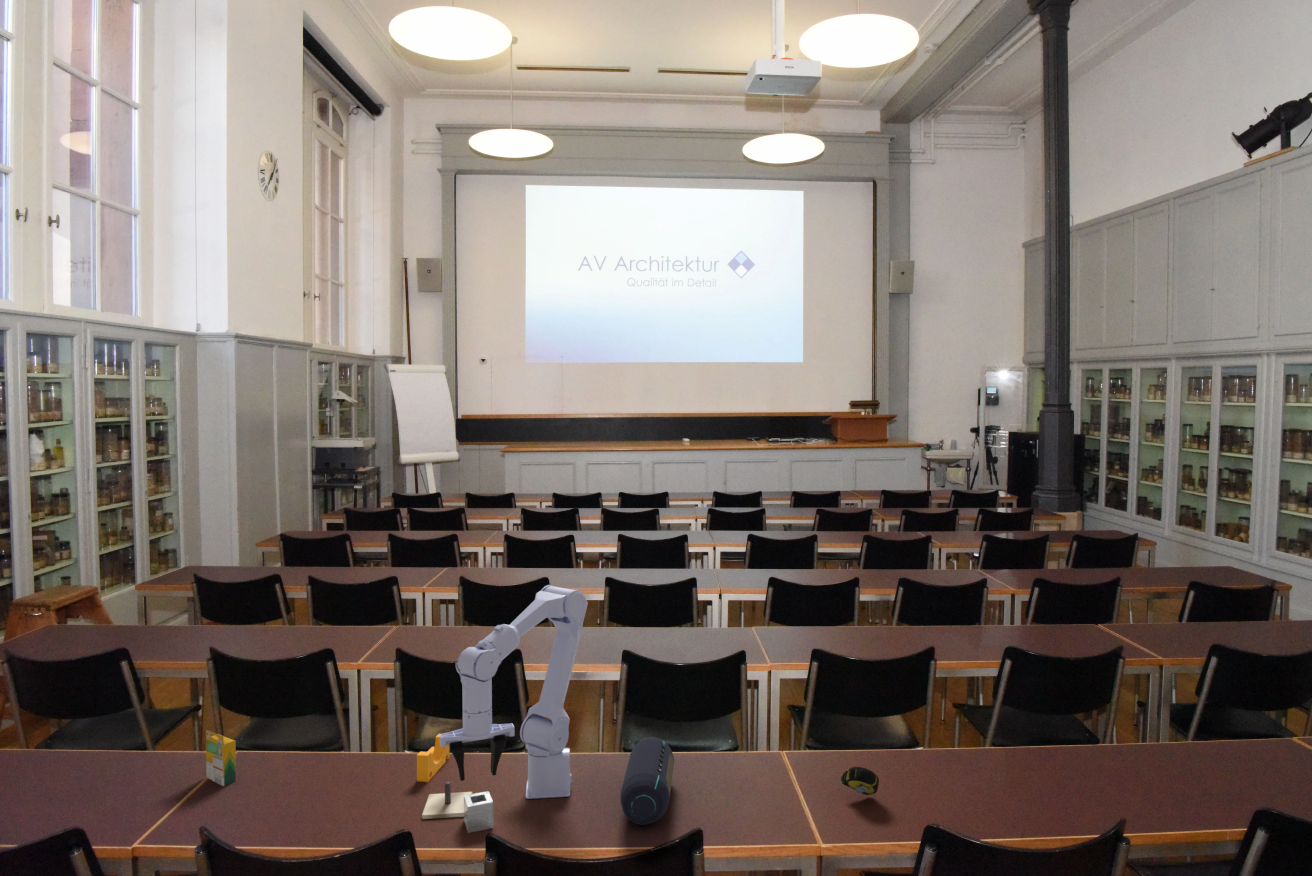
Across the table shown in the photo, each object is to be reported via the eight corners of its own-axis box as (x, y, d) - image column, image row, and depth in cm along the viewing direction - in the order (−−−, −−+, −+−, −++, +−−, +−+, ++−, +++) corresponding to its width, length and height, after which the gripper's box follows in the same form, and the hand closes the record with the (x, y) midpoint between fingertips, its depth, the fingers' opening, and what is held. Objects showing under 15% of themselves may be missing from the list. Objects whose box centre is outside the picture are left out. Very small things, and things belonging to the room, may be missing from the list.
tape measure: (868, 801, 168) (871, 784, 170) (882, 793, 162) (885, 775, 165) (838, 787, 168) (842, 770, 170) (852, 779, 163) (855, 762, 165)
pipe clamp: (432, 760, 186) (432, 733, 186) (449, 761, 186) (449, 734, 185) (409, 783, 174) (409, 754, 174) (427, 784, 174) (427, 755, 174)
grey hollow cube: (488, 816, 159) (488, 791, 159) (493, 828, 155) (493, 802, 155) (463, 821, 157) (463, 795, 157) (467, 833, 153) (467, 806, 153)
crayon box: (236, 783, 174) (236, 732, 174) (223, 789, 171) (222, 736, 171) (219, 775, 178) (218, 725, 178) (205, 781, 175) (205, 729, 175)
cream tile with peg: (472, 795, 168) (472, 772, 168) (467, 816, 159) (467, 792, 159) (429, 797, 167) (429, 774, 167) (422, 819, 158) (421, 794, 158)
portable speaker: (668, 833, 153) (668, 782, 153) (617, 831, 154) (617, 781, 153) (675, 775, 178) (675, 732, 178) (631, 773, 179) (631, 730, 178)
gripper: (509, 697, 162) (509, 761, 162) (437, 706, 157) (438, 773, 157) (516, 708, 156) (517, 775, 156) (441, 719, 150) (442, 789, 150)
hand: (477, 775), depth 156 cm, fingers open, 6 cm apart
